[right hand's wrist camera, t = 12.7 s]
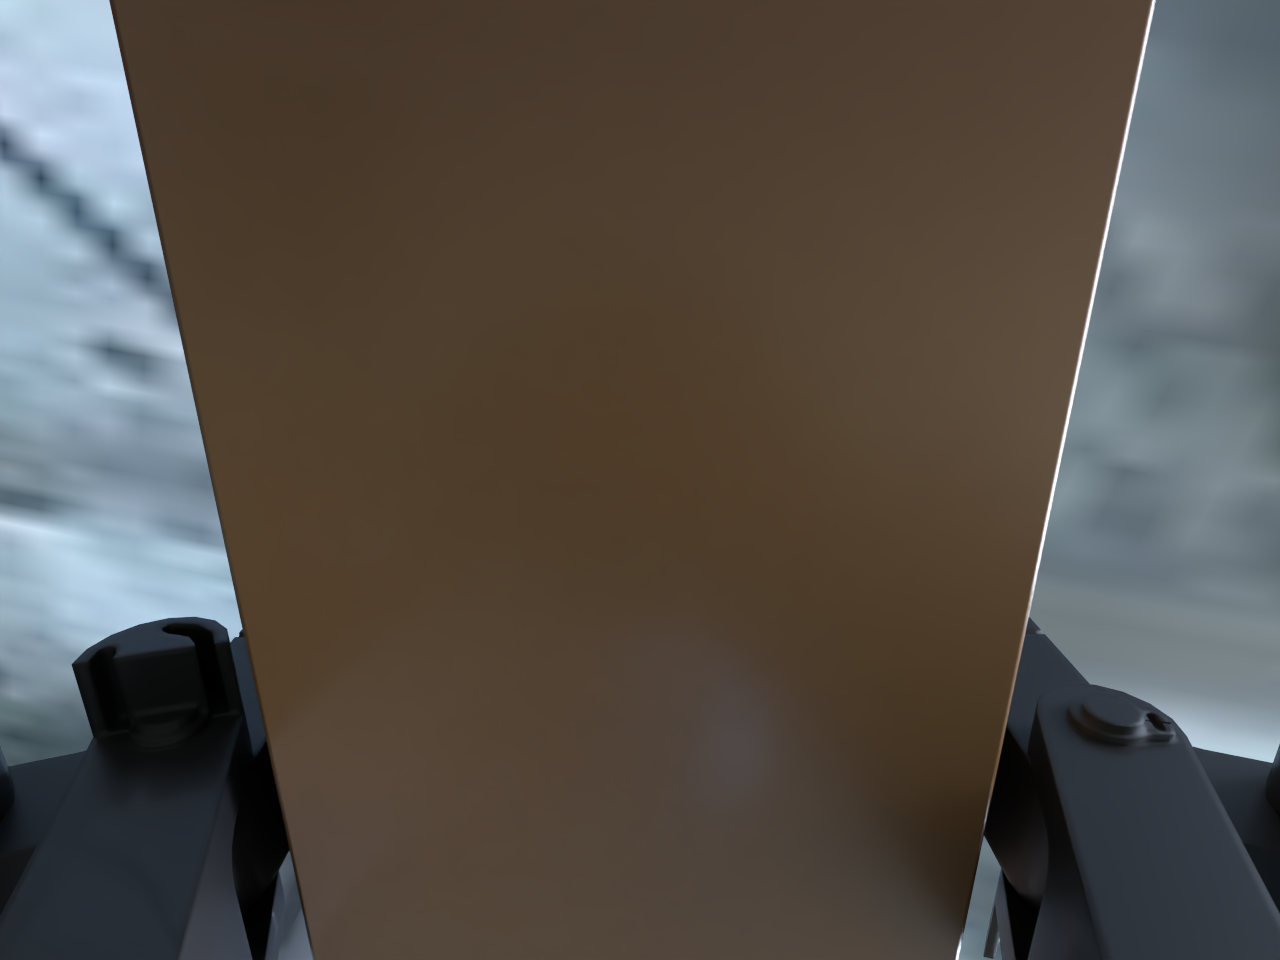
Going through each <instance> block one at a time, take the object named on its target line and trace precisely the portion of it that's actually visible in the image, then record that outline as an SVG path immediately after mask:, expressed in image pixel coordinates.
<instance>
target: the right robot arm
mask: <svg viewBox="0 0 1280 960" xmlns="http://www.w3.org/2000/svg"><path fill="white" fill-rule="evenodd" d="M72 667H73V671H74V674H75V677H76V680H77V684H78V687H79V690H80V694H81V697H82V700H83V704H84V707H85V710H86V713H87V717H88V720H89V723H90V727H91V730H92V733H93V739H92V741H91V743H90V745H89V747H88V749H87V751H83V752H79V753H75V754H70V755H65V756H59V757H54V758H49V759H44V760H39V761H34V762H29V763H24V764H19V765H14V766H9V767H7V764H6V761H5V758H4V756H3V753H2V750H1V747H0V960H313V958H312V953H311V949H310V944H309V939H308V934H307V930H306V925H305V920H304V916H303V911H302V906H301V901H300V897H299V892H298V887H297V883H296V878H295V873H294V868H293V864H292V859H291V854H290V850H289V845H288V840H287V835H286V831H285V826H284V821H283V817H282V812H281V807H280V802H279V798H278V793H277V788H276V784H275V779H274V774H273V769H272V765H271V760H270V755H269V751H268V746H267V741H266V736H265V732H264V727H263V722H262V718H261V713H260V708H259V703H258V699H257V694H256V689H255V684H254V680H253V675H252V670H251V666H250V661H249V656H248V651H247V647H246V642H245V637H244V633H243V629H242V630H241V631H240V633H239V637H235V638H234V639H233V640H232V642H231V643H230V641H229V636H228V632H227V629H226V628H225V627H223V626H222V625H221V624H219V623H218V622H217V621H215V620H209V619H204V618H198V617H183V618H167V619H163V620H158V621H154V622H149V623H144V624H140V625H137V626H134V627H132V628H129V629H126V630H124V631H121V632H118V633H115V634H113V635H110V636H109V637H107V638H105V639H104V640H102V641H100V642H98V643H97V644H95V645H93V646H91V647H90V648H88V649H87V650H86V651H85V652H84V653H83V654H82V655H81V656H80V657H79V658H78V659H77V660H76V661H75V662H74V663H73V664H72ZM984 836H985V838H986V840H987V841H988V843H989V845H990V847H991V849H992V851H993V853H994V855H995V857H996V858H997V860H998V862H999V864H1000V866H1001V872H1000V877H999V881H998V886H997V891H996V895H995V900H994V905H993V909H992V914H991V918H990V923H989V928H988V932H987V937H986V943H985V950H984V957H988V958H992V959H995V956H996V952H997V947H998V943H999V941H1000V945H1001V953H1002V960H1280V745H1279V748H1278V751H1277V753H1276V756H1275V759H1274V762H1273V763H1269V762H1264V761H1259V760H1254V759H1249V758H1244V757H1239V756H1234V755H1229V754H1224V753H1219V752H1214V751H1209V750H1204V749H1200V748H1196V747H1192V745H1191V743H1190V742H1189V740H1188V738H1187V736H1186V735H1185V734H1184V732H1183V731H1182V730H1181V729H1180V728H1179V726H1178V725H1177V724H1176V723H1175V722H1174V720H1173V719H1172V718H1170V717H1169V716H1167V715H1166V714H1164V713H1163V712H1161V711H1160V710H1158V709H1157V708H1155V707H1154V706H1153V705H1151V704H1149V703H1147V702H1145V701H1143V700H1140V699H1138V698H1136V697H1133V696H1131V695H1129V694H1127V693H1124V692H1121V691H1117V690H1113V689H1109V688H1105V687H1101V686H1097V685H1090V684H1089V683H1088V682H1087V681H1086V680H1085V678H1084V677H1083V676H1082V675H1081V674H1080V673H1079V672H1078V671H1077V670H1076V668H1075V667H1074V666H1073V665H1072V664H1071V663H1070V662H1069V661H1068V660H1067V658H1066V657H1065V656H1064V655H1063V654H1062V653H1061V652H1060V651H1059V650H1058V648H1057V647H1056V646H1055V645H1054V644H1053V643H1052V642H1051V641H1050V640H1049V638H1048V637H1047V636H1046V635H1045V634H1041V630H1040V628H1039V627H1038V626H1037V625H1036V624H1035V623H1034V622H1033V621H1032V620H1031V618H1030V617H1029V618H1028V623H1027V627H1026V632H1025V637H1024V642H1023V647H1022V652H1021V657H1020V661H1019V666H1018V671H1017V676H1016V681H1015V686H1014V691H1013V695H1012V700H1011V705H1010V710H1009V715H1008V720H1007V725H1006V729H1005V734H1004V739H1003V744H1002V749H1001V754H1000V758H999V763H998V768H997V773H996V778H995V783H994V788H993V792H992V797H991V802H990V807H989V812H988V817H987V822H986V826H985V831H984Z"/></svg>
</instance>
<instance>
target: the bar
mask: <svg viewBox="0 0 1280 960" xmlns="http://www.w3.org/2000/svg"><path fill="white" fill-rule="evenodd" d="M109 1H110V5H111V10H112V15H113V19H114V24H115V29H116V34H117V38H118V43H119V48H120V52H121V57H122V62H123V67H124V71H125V76H126V81H127V85H128V90H129V95H130V100H131V104H132V109H133V114H134V118H135V123H136V128H137V133H138V137H139V142H140V147H141V151H142V156H143V161H144V166H145V170H146V175H147V180H148V184H149V189H150V194H151V199H152V203H153V208H154V213H155V218H156V222H157V227H158V232H159V236H160V241H161V246H162V251H163V255H164V260H165V265H166V269H167V274H168V279H169V284H170V288H171V293H172V298H173V302H174V307H175V312H176V317H177V321H178V326H179V331H180V335H181V340H182V345H183V350H184V354H185V359H186V364H187V368H188V373H189V378H190V383H191V387H192V392H193V397H194V401H195V406H196V411H197V416H198V420H199V425H200V430H201V434H202V439H203V444H204V449H205V453H206V458H207V463H208V468H209V472H210V477H211V482H212V486H213V491H214V496H215V501H216V505H217V510H218V515H219V519H220V524H221V529H222V534H223V538H224V543H225V548H226V552H227V557H228V562H229V567H230V571H231V576H232V581H233V585H234V590H235V595H236V600H237V604H238V609H239V614H240V618H241V623H242V628H243V633H244V637H245V642H246V647H247V651H248V656H249V661H250V666H251V670H252V675H253V680H254V684H255V689H256V694H257V699H258V703H259V708H260V713H261V718H262V722H263V727H264V732H265V736H266V741H267V746H268V751H269V755H270V760H271V765H272V769H273V774H274V779H275V784H276V788H277V793H278V798H279V802H280V807H281V812H282V817H283V821H284V826H285V831H286V835H287V840H288V845H289V850H290V854H291V859H292V864H293V868H294V873H295V878H296V883H297V887H298V892H299V897H300V901H301V906H302V911H303V916H304V920H305V925H306V930H307V934H308V939H309V944H310V949H311V953H312V958H313V960H958V958H959V953H960V948H961V943H962V938H963V933H964V928H965V924H966V919H967V914H968V909H969V904H970V899H971V894H972V890H973V885H974V880H975V875H976V870H977V865H978V860H979V856H980V851H981V846H982V841H983V836H984V831H985V826H986V822H987V817H988V812H989V807H990V802H991V797H992V792H993V788H994V783H995V778H996V773H997V768H998V763H999V758H1000V754H1001V749H1002V744H1003V739H1004V734H1005V729H1006V725H1007V720H1008V715H1009V710H1010V705H1011V700H1012V695H1013V691H1014V686H1015V681H1016V676H1017V671H1018V666H1019V661H1020V657H1021V652H1022V647H1023V642H1024V637H1025V632H1026V627H1027V623H1028V618H1029V613H1030V608H1031V603H1032V598H1033V593H1034V589H1035V584H1036V579H1037V574H1038V569H1039V564H1040V559H1041V555H1042V550H1043V545H1044V540H1045V535H1046V530H1047V525H1048V521H1049V516H1050V511H1051V506H1052V501H1053V496H1054V491H1055V487H1056V482H1057V477H1058V472H1059V467H1060V462H1061V457H1062V453H1063V448H1064V443H1065V438H1066V433H1067V428H1068V423H1069V419H1070V414H1071V409H1072V404H1073V399H1074V394H1075V389H1076V385H1077V380H1078V375H1079V370H1080V365H1081V360H1082V355H1083V351H1084V346H1085V341H1086V336H1087V331H1088V326H1089V321H1090V317H1091V312H1092V307H1093V302H1094V297H1095V292H1096V287H1097V283H1098V278H1099V273H1100V268H1101V263H1102V258H1103V253H1104V249H1105V244H1106V239H1107V234H1108V229H1109V224H1110V219H1111V215H1112V210H1113V205H1114V200H1115V195H1116V190H1117V186H1118V181H1119V176H1120V171H1121V166H1122V161H1123V156H1124V152H1125V147H1126V142H1127V137H1128V132H1129V127H1130V122H1131V118H1132V113H1133V108H1134V103H1135V98H1136V93H1137V88H1138V84H1139V79H1140V74H1141V69H1142V64H1143V59H1144V54H1145V50H1146V45H1147V40H1148V35H1149V30H1150V25H1151V20H1152V16H1153V11H1154V6H1155V1H1156V0H109Z"/></svg>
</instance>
